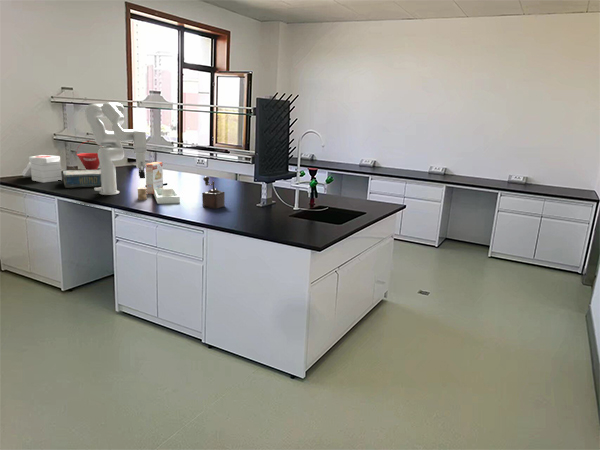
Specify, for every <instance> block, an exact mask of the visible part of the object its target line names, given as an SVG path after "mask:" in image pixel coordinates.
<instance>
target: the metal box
mask: <svg viewBox="0 0 600 450" xmlns="http://www.w3.org/2000/svg"><path fill="white" fill-rule="evenodd" d="M62 180H63V184H64V188H67V189H68V188H69V189H70V188H92V187H93V188H97V187H101V171H100V168H99V169H97V170H86V169H82V170H81V169H80V170H79V169H78V170H76V169H75V170H71V169H68V170H62Z"/></svg>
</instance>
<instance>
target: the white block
mask: <svg viewBox="0 0 600 450" xmlns="http://www.w3.org/2000/svg"><path fill="white" fill-rule="evenodd" d="M172 188H173V187H163V189H162V197H173V189H172Z"/></svg>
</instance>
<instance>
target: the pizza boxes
mask: <svg viewBox="0 0 600 450" xmlns="http://www.w3.org/2000/svg"><path fill="white" fill-rule="evenodd" d="M21 174H22V176H23V177H31V180H32V181H34V182H35V181H36V182H38V183H51V182H59V181H58V180H61V181H63V173H62V164H61V156H60V155H48V154H47V155H46V154H39V155H34V156H28V163H27V164H26V167H25V168H24V170H23V171H22V173H21Z"/></svg>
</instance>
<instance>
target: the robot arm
mask: <svg viewBox="0 0 600 450" xmlns="http://www.w3.org/2000/svg"><path fill="white" fill-rule="evenodd" d="M124 114H125V108H124V106H123V104H121V103H120V102H105V103H92V104H91V103H90V104H88V105H87V106H86V107H85V109H84V115H85V118H86V121H87V123H88V125H89V126H90V128H91V133H92V135H93V137H94V138H93V139H94V140H95V141H94V142H96V143H95V144H96V145H98V146H100V148H99V149H98V150H97V153H98V158H99V162H100V164H99V166H100V167H99V169H100V171H101V186H99V187H94V191H97V192H99V194H100V195H102V196H103V195H104V196H113V195H118V194H119V193H120V190H118V189H117V188H118V187H117V172H116V171H117V170H116V165H115V164H114V162H115V161H121V160H123V159H124V158H125V151H124V147H123V144H122V142H123V143H125V142H126V143H130V142H131V143H132V142H133V151H134V154H135V161H136V169H138V176H139V179H146V171H145V169H146V153H147V152H148V150H147V138H146V137H147V133H146V131H145V130H141V129H140V130H138V129H123V128H122V127H121V126H122V125H123V124H124V123H125V120H126V119H125V117H124ZM100 118H107V120H108V121H109V122H110V123H111V124H112V125H111V128H112V131H111V130H107V129H106V126H105V124H104V122H103V121H102V120H101V119H100ZM101 146H102V147H101ZM113 161H114V162H113Z"/></svg>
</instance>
